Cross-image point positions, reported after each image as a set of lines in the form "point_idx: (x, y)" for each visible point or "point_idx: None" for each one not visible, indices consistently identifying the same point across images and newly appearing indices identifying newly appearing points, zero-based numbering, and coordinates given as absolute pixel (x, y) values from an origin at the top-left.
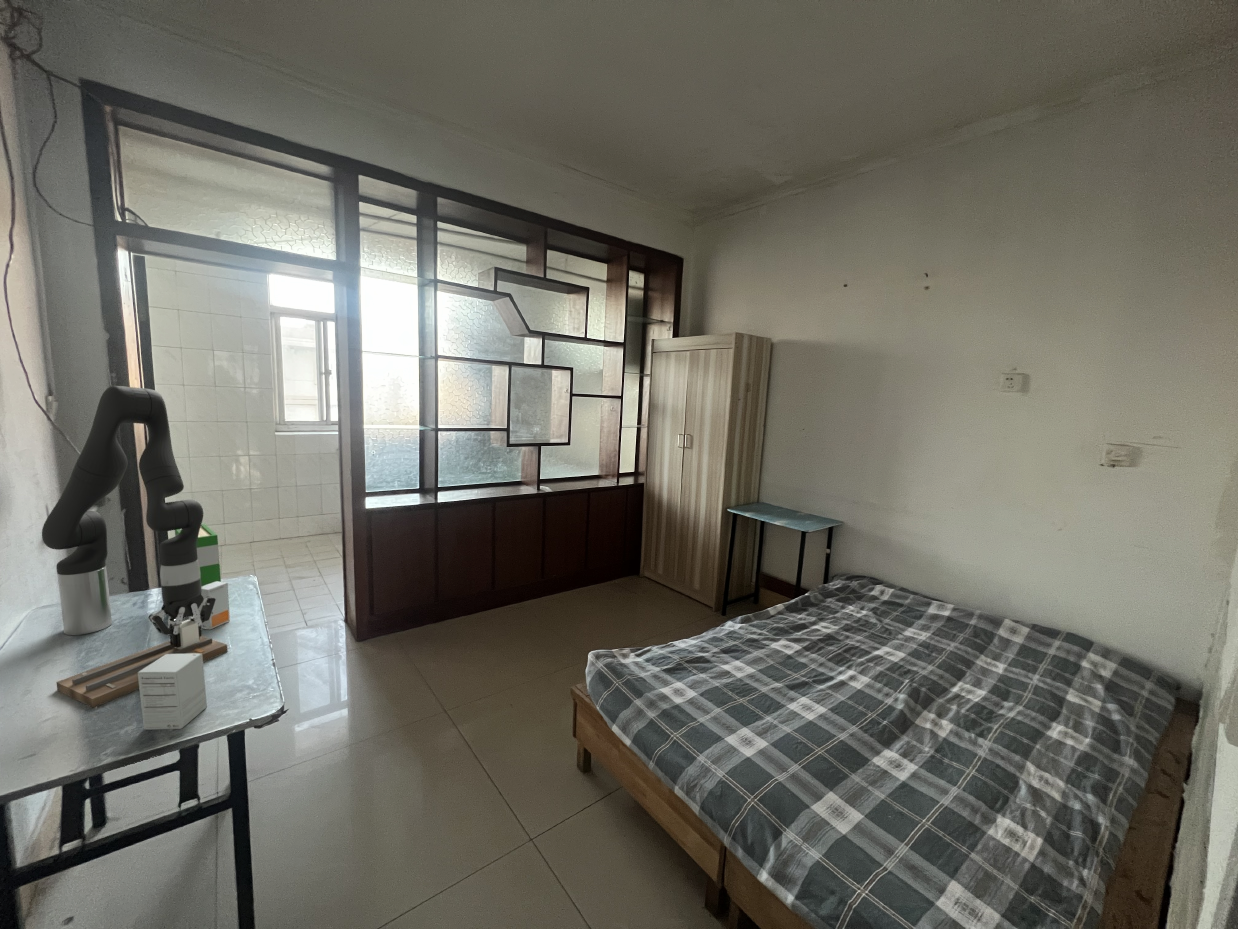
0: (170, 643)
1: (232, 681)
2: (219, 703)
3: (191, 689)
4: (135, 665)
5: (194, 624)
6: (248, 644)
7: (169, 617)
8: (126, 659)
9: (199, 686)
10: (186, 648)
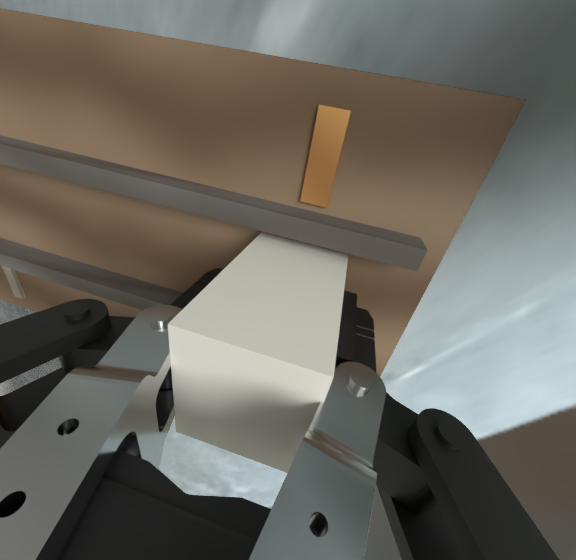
0: (206, 275)
1: (227, 464)
2: (170, 472)
3: None
4: (92, 212)
5: (270, 458)
6: None
7: (18, 449)
8: (41, 154)
9: None
10: None
